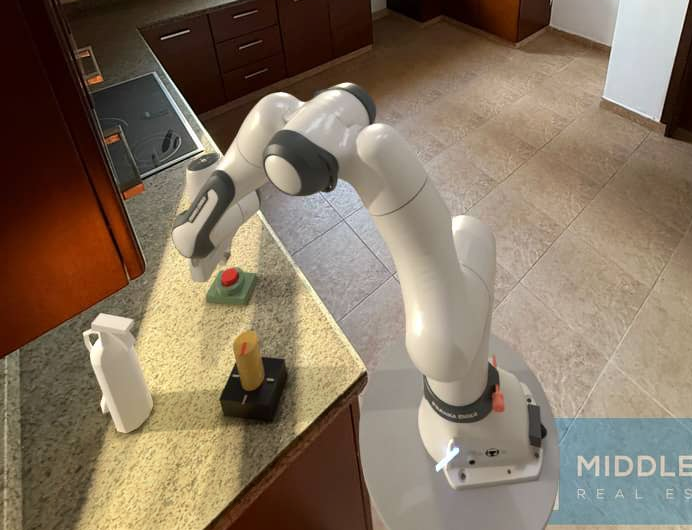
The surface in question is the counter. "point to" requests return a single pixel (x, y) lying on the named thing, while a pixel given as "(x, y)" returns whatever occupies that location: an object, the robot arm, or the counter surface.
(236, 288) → the button box
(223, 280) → the button
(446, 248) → the robot arm
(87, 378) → the counter surface
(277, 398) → the black block
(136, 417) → the white plastic jug
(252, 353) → the yellow cylinder
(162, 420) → the counter surface
